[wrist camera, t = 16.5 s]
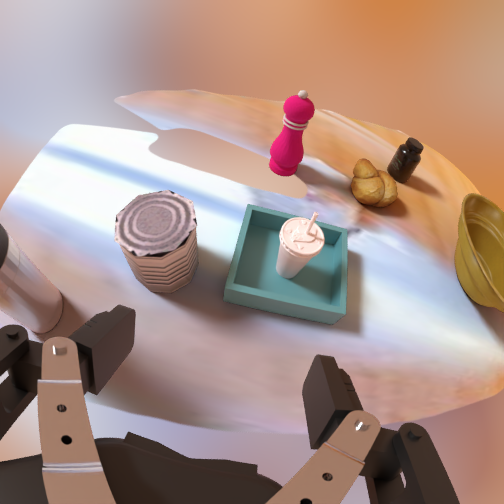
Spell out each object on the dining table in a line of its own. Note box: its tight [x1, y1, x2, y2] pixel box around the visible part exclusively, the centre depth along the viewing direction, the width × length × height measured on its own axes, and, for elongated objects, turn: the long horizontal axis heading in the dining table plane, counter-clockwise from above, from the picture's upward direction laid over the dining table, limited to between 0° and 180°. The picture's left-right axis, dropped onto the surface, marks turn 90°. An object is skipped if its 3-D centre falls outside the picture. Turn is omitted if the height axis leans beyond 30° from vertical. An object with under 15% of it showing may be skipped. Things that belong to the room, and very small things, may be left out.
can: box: [115, 190, 198, 293], centre depth 40 cm, size 11×11×12 cm
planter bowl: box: [455, 193, 504, 312], centre depth 47 cm, size 32×32×13 cm
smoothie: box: [276, 212, 325, 279], centre depth 40 cm, size 6×6×14 cm
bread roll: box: [351, 159, 398, 208], centre depth 57 cm, size 13×10×8 cm
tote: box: [223, 204, 347, 325], centre depth 45 cm, size 18×16×5 cm
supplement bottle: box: [387, 138, 423, 183], centre depth 63 cm, size 7×7×12 cm
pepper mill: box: [269, 90, 315, 176], centre depth 53 cm, size 7×7×20 cm
